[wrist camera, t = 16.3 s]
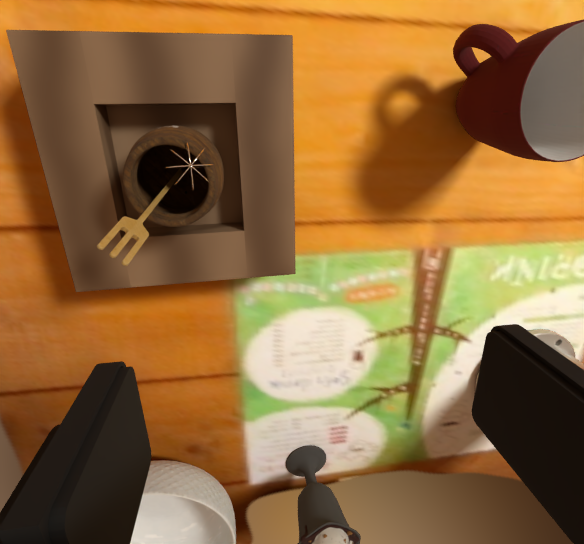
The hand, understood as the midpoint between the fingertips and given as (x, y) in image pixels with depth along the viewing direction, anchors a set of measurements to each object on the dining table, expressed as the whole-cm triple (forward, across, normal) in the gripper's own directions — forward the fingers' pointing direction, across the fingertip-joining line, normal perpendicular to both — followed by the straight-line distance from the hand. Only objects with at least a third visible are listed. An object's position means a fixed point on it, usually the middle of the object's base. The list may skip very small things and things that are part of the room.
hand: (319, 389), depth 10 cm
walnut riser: (+24, +6, -4) cm, 25 cm away
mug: (+25, -18, -9) cm, 32 cm away
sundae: (+25, -4, +31) cm, 40 cm away
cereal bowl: (+25, +13, +32) cm, 43 cm away
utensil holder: (+21, +6, -4) cm, 22 cm away
